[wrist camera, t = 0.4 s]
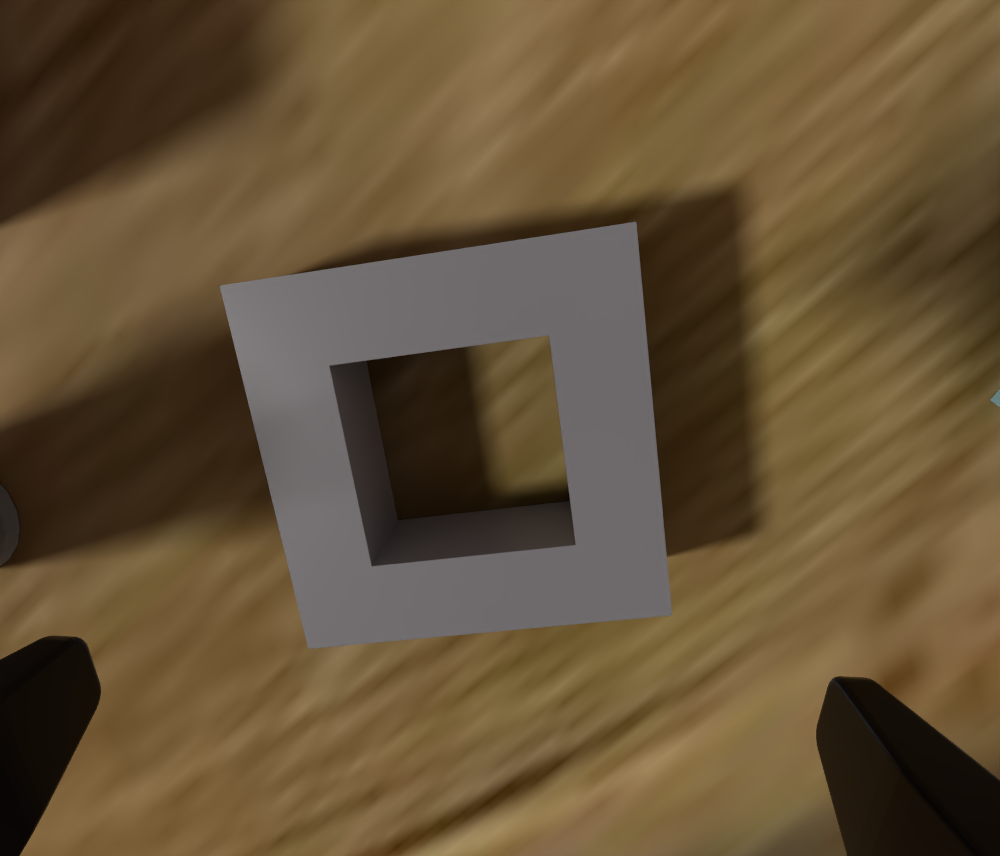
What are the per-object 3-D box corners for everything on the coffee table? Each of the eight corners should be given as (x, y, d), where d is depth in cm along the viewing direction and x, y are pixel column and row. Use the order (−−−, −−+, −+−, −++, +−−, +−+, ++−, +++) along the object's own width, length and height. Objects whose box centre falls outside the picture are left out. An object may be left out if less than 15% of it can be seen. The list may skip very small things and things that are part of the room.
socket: (652, 561, 22) (671, 615, 19) (342, 592, 23) (308, 648, 20) (620, 227, 20) (636, 222, 16) (273, 281, 21) (219, 285, 17)
